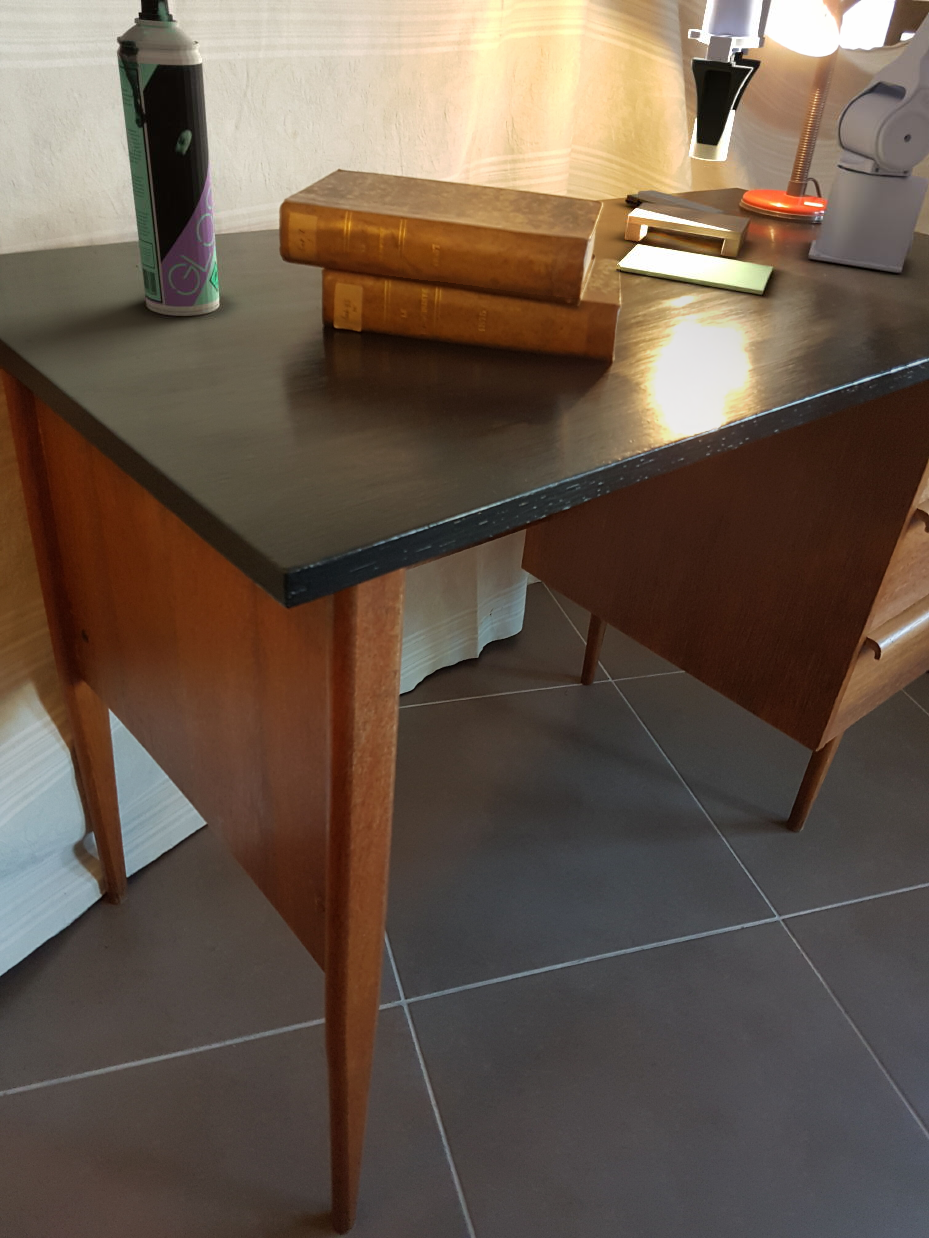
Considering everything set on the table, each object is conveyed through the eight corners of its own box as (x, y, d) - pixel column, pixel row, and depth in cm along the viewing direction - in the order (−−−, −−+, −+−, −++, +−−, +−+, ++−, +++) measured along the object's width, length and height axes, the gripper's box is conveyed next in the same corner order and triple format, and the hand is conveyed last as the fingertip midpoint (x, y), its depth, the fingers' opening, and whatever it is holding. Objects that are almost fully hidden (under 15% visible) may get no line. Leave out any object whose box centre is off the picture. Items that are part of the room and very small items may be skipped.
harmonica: (624, 205, 117) (626, 188, 116) (641, 204, 119) (644, 186, 118) (713, 233, 108) (717, 215, 107) (731, 231, 110) (735, 213, 109)
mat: (772, 270, 96) (773, 266, 96) (761, 295, 88) (763, 290, 88) (636, 248, 100) (637, 244, 100) (615, 269, 92) (616, 265, 92)
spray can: (201, 320, 71) (175, 1, 60) (133, 310, 72) (93, -7, 60) (230, 299, 75) (211, 0, 64) (166, 290, 76) (135, -8, 65)
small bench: (745, 242, 106) (750, 218, 104) (736, 257, 100) (741, 232, 98) (639, 225, 109) (643, 202, 107) (624, 239, 103) (628, 215, 101)
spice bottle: (727, 157, 97) (744, 81, 93) (722, 162, 94) (739, 83, 90) (692, 152, 97) (707, 76, 94) (686, 157, 95) (701, 79, 91)
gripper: (712, -25, 94) (683, 128, 101) (686, -28, 82) (656, 145, 90) (785, -18, 92) (750, 137, 100) (769, -20, 81) (731, 155, 88)
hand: (710, 142), depth 95 cm, fingers closed on spice bottle, 3 cm apart
